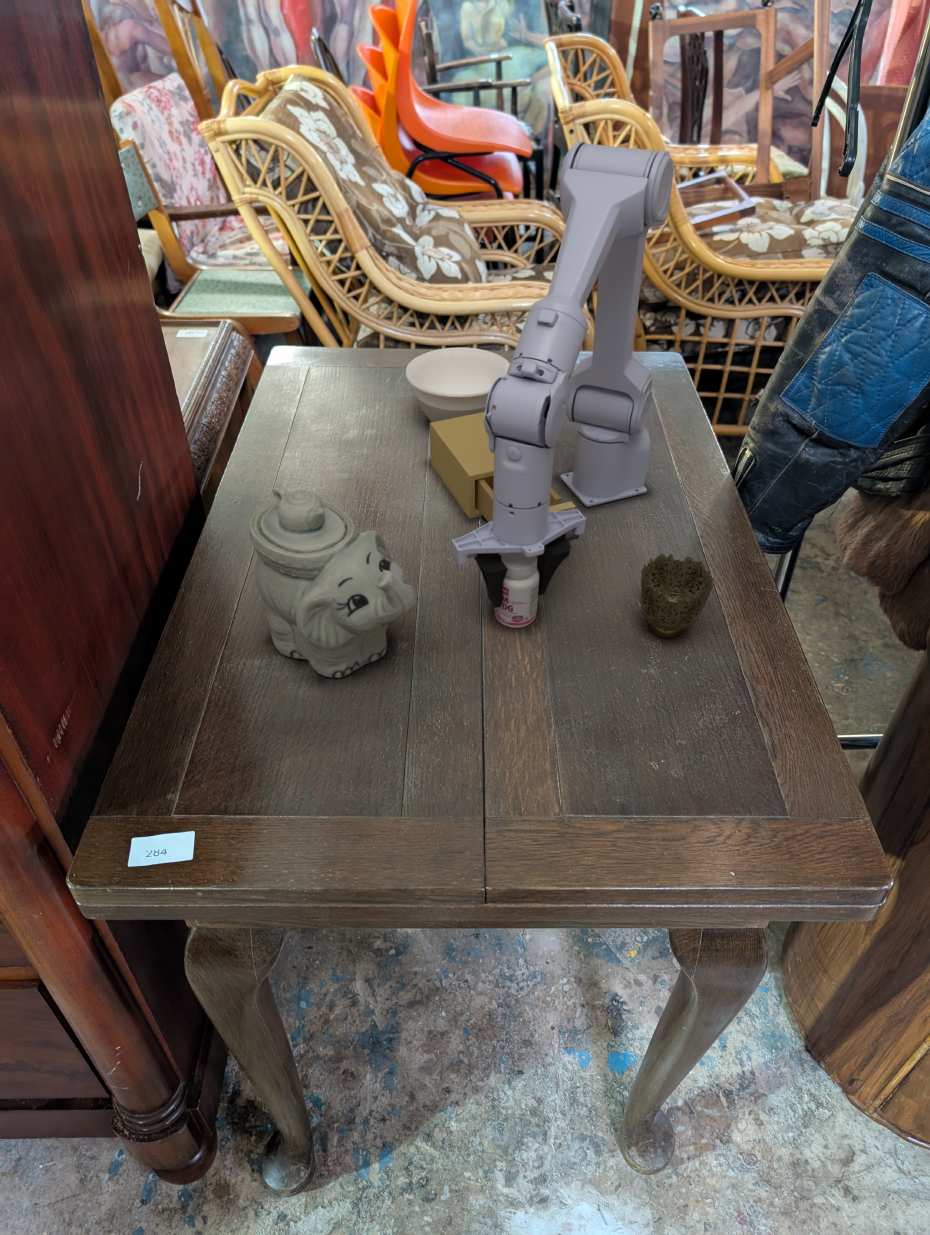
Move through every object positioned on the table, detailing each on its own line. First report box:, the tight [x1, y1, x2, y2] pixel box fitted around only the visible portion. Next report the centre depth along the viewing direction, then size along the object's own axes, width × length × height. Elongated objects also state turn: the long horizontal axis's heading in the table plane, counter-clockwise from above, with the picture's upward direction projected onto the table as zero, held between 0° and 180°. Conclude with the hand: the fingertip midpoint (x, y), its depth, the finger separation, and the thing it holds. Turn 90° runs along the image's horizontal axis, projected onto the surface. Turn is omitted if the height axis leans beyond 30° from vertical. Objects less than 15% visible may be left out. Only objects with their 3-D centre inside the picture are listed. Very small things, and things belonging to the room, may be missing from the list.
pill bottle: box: [494, 553, 539, 629], centre depth 87 cm, size 5×5×8 cm
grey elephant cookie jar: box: [248, 484, 417, 679], centre depth 80 cm, size 16×15×19 cm
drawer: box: [475, 476, 580, 542], centre depth 100 cm, size 18×9×5 cm, turn 22°
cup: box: [640, 552, 715, 639], centre depth 86 cm, size 8×7×8 cm
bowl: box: [405, 346, 511, 423], centre depth 120 cm, size 16×16×8 cm
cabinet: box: [429, 412, 494, 520], centre depth 108 cm, size 15×11×7 cm
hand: (516, 595), depth 88 cm, fingers closed on pill bottle, 5 cm apart
